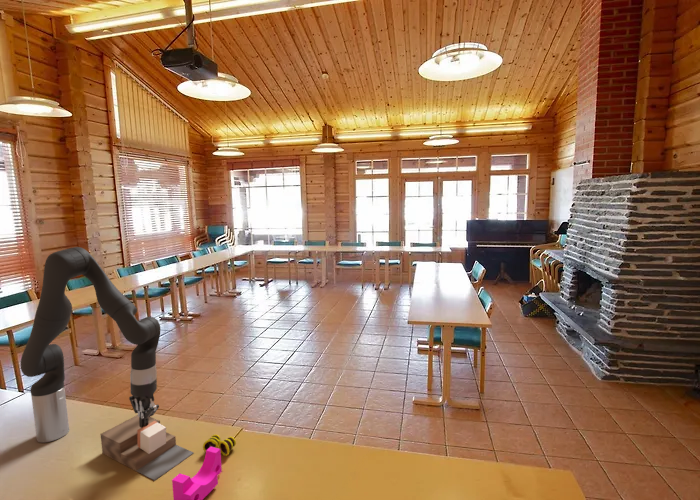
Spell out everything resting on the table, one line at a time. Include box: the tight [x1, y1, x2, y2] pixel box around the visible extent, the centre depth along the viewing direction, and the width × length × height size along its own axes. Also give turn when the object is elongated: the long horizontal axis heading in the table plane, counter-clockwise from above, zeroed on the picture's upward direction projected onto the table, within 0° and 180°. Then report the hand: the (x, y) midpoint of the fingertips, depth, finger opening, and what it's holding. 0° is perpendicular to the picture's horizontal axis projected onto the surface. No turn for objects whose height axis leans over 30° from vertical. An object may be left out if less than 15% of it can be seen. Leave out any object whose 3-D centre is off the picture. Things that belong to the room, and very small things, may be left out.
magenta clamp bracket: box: [171, 447, 223, 500], centre depth 107 cm, size 15×6×8 cm, turn 159°
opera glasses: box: [202, 434, 237, 457], centre depth 123 cm, size 10×5×5 cm, turn 77°
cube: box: [137, 421, 167, 454], centre depth 121 cm, size 6×6×6 cm
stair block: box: [100, 414, 195, 482], centre depth 122 cm, size 28×14×7 cm, turn 62°
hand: (144, 426), depth 122 cm, fingers closed
